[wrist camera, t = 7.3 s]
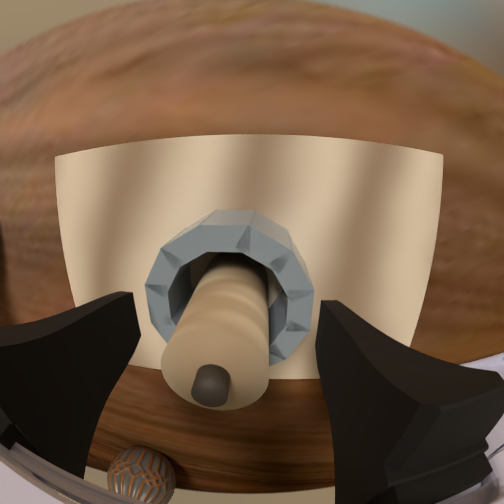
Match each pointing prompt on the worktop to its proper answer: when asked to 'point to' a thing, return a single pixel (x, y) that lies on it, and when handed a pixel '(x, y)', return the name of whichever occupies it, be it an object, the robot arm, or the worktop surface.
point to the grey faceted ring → (253, 245)
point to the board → (268, 204)
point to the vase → (142, 475)
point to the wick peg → (222, 337)
